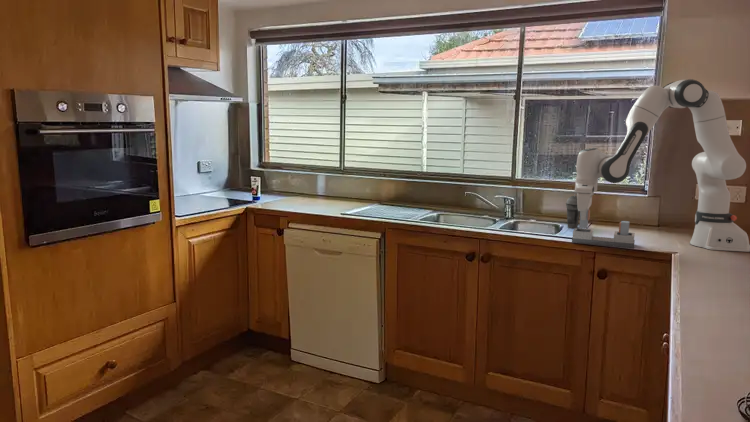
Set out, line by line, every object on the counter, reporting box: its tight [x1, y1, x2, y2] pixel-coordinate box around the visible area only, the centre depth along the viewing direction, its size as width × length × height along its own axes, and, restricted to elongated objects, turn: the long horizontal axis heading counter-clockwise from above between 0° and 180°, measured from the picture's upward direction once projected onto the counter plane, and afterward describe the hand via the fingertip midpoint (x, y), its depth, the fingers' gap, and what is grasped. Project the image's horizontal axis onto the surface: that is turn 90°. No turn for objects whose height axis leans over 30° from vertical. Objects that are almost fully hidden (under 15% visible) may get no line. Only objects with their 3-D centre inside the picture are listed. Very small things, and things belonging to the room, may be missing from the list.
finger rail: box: [571, 227, 636, 249], centre depth 227 cm, size 24×8×5 cm, turn 63°
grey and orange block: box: [578, 208, 591, 229], centre depth 229 cm, size 4×4×8 cm
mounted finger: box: [618, 220, 630, 235], centre depth 223 cm, size 4×4×8 cm
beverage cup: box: [565, 189, 580, 229], centre depth 261 cm, size 7×7×20 cm
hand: (584, 218), depth 229 cm, fingers closed on grey and orange block, 4 cm apart
